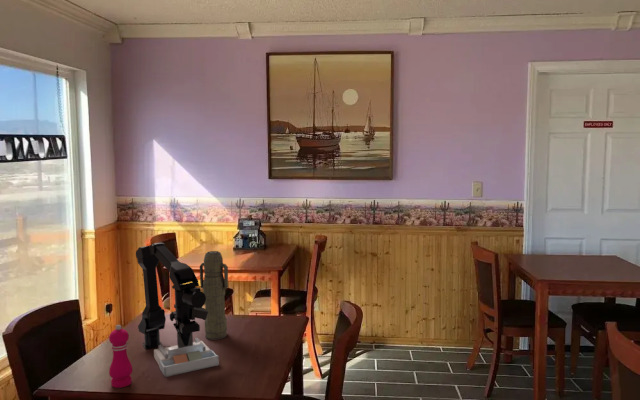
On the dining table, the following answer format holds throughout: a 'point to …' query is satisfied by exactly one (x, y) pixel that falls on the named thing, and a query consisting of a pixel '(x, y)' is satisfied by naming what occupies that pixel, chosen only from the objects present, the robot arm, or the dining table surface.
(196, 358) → the sage tile
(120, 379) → the pepper mill
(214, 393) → the dining table surface
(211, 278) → the thermos
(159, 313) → the robot arm
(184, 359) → the terracotta tile
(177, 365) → the tray
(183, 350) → the grey panel
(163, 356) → the white shallow box
